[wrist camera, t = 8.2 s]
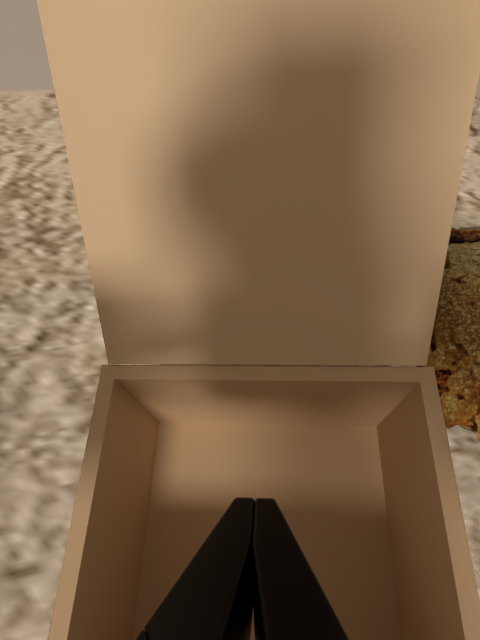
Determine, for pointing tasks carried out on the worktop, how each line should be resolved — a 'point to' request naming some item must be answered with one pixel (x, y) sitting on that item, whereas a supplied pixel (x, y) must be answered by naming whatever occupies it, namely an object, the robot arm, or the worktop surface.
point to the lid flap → (265, 172)
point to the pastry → (459, 333)
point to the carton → (271, 493)
